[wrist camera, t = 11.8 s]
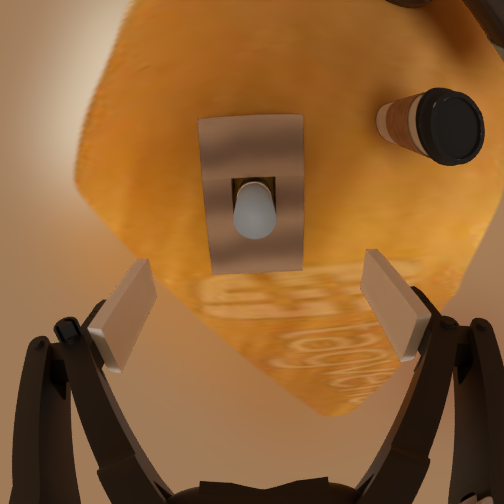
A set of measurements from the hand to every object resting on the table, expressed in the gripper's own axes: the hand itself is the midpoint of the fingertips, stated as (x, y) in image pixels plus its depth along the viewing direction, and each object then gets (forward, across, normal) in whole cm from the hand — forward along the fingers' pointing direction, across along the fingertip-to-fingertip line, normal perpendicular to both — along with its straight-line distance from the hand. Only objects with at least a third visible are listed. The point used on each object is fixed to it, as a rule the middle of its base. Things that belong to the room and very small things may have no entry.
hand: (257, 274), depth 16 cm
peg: (+22, 0, 0) cm, 22 cm away
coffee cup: (+23, +20, +10) cm, 32 cm away
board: (+22, 0, 0) cm, 22 cm away
